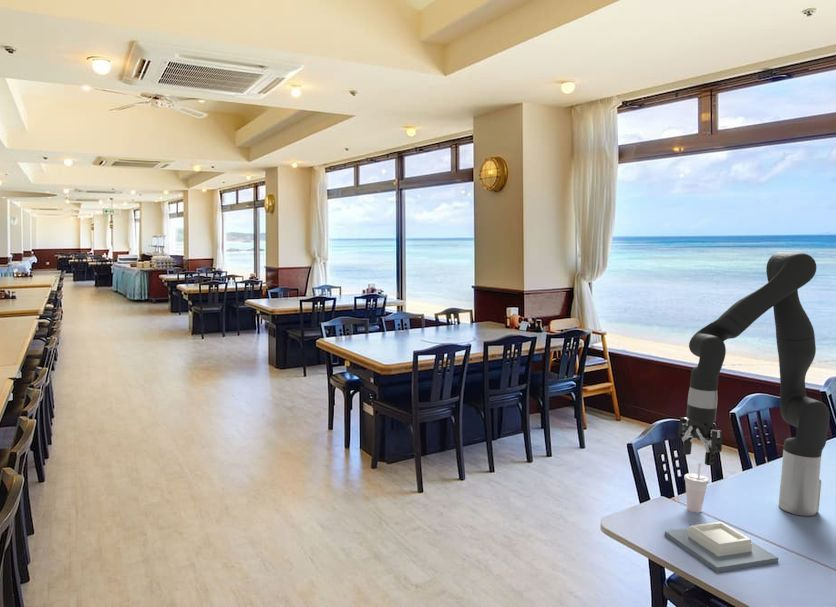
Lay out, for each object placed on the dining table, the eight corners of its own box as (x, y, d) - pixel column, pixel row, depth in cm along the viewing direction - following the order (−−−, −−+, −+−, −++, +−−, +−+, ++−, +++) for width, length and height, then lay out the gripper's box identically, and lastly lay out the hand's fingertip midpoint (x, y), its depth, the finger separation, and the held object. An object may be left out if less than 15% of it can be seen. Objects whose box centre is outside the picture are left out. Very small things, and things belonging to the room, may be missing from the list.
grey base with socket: (720, 527, 159) (721, 512, 158) (778, 562, 142) (779, 545, 141) (664, 535, 154) (665, 519, 153) (716, 572, 136) (718, 555, 136)
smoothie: (709, 515, 166) (712, 467, 164) (684, 513, 167) (688, 465, 166) (703, 506, 172) (706, 459, 171) (679, 503, 173) (682, 457, 172)
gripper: (732, 410, 161) (727, 467, 162) (694, 397, 174) (690, 450, 176) (710, 411, 159) (705, 469, 160) (673, 398, 172) (669, 451, 174)
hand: (697, 459), depth 168 cm, fingers open, 8 cm apart
